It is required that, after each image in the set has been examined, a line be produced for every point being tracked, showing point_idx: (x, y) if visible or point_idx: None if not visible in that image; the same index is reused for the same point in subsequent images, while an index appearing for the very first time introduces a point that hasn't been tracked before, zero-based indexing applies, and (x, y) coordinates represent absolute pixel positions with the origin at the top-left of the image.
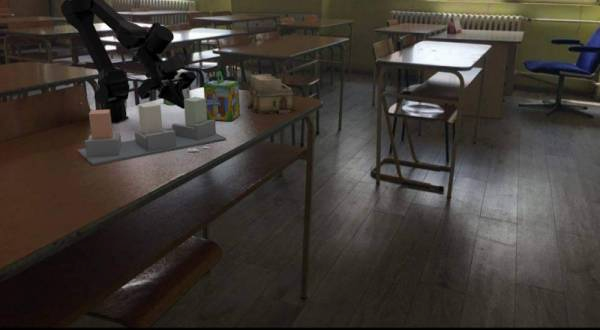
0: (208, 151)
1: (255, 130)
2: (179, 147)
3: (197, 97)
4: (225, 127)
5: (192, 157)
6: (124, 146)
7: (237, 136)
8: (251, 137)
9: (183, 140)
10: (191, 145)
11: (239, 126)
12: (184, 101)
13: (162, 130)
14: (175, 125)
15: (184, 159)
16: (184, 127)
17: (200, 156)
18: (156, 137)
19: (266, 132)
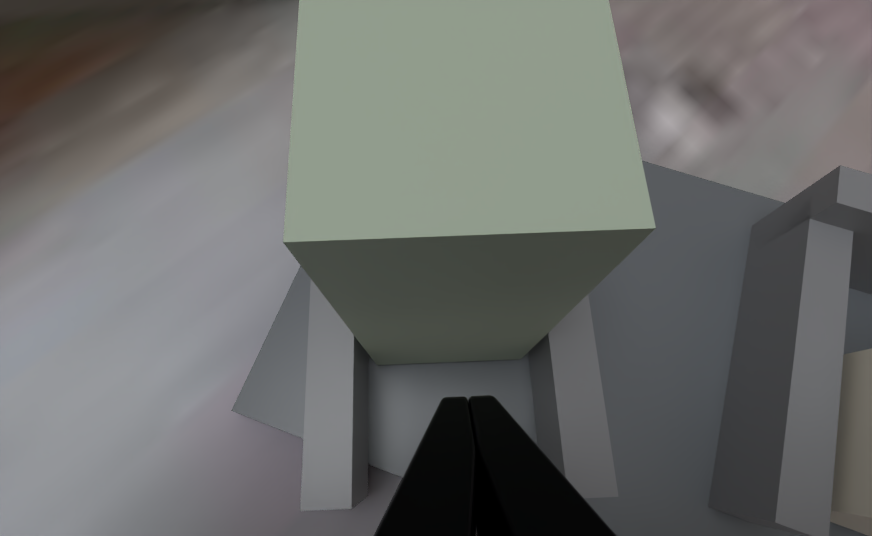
0: (633, 40)
1: (81, 83)
2: (744, 194)
3: (314, 155)
4: (89, 310)
5: (771, 40)
6: None
7: (274, 90)
8: (249, 16)
9: (629, 278)
10: (650, 168)
11: (15, 236)
12: (635, 234)
13: (869, 349)
14: (609, 438)
15: (827, 50)
16: (589, 306)
17: (725, 19)
18: None
19: (99, 8)
